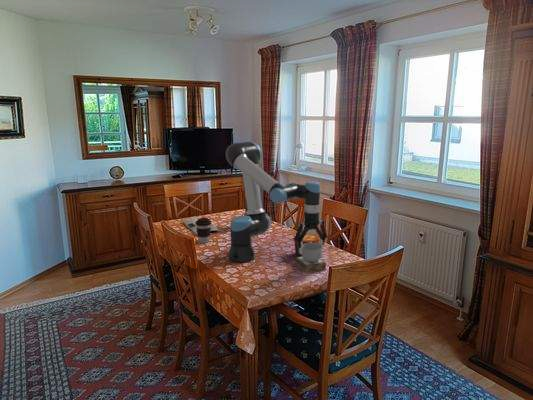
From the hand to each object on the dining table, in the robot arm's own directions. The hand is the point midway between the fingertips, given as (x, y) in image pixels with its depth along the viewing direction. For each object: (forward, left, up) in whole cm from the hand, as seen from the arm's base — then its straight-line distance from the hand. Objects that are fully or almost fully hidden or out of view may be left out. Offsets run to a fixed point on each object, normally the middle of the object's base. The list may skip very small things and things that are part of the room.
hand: (310, 252), depth 195 cm
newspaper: (-41, +93, -9) cm, 102 cm away
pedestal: (0, 0, -8) cm, 8 cm away
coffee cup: (-46, +60, -9) cm, 76 cm away
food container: (+6, +17, -9) cm, 20 cm away
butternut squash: (-7, +79, -9) cm, 80 cm away
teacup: (+1, 0, -4) cm, 4 cm away
